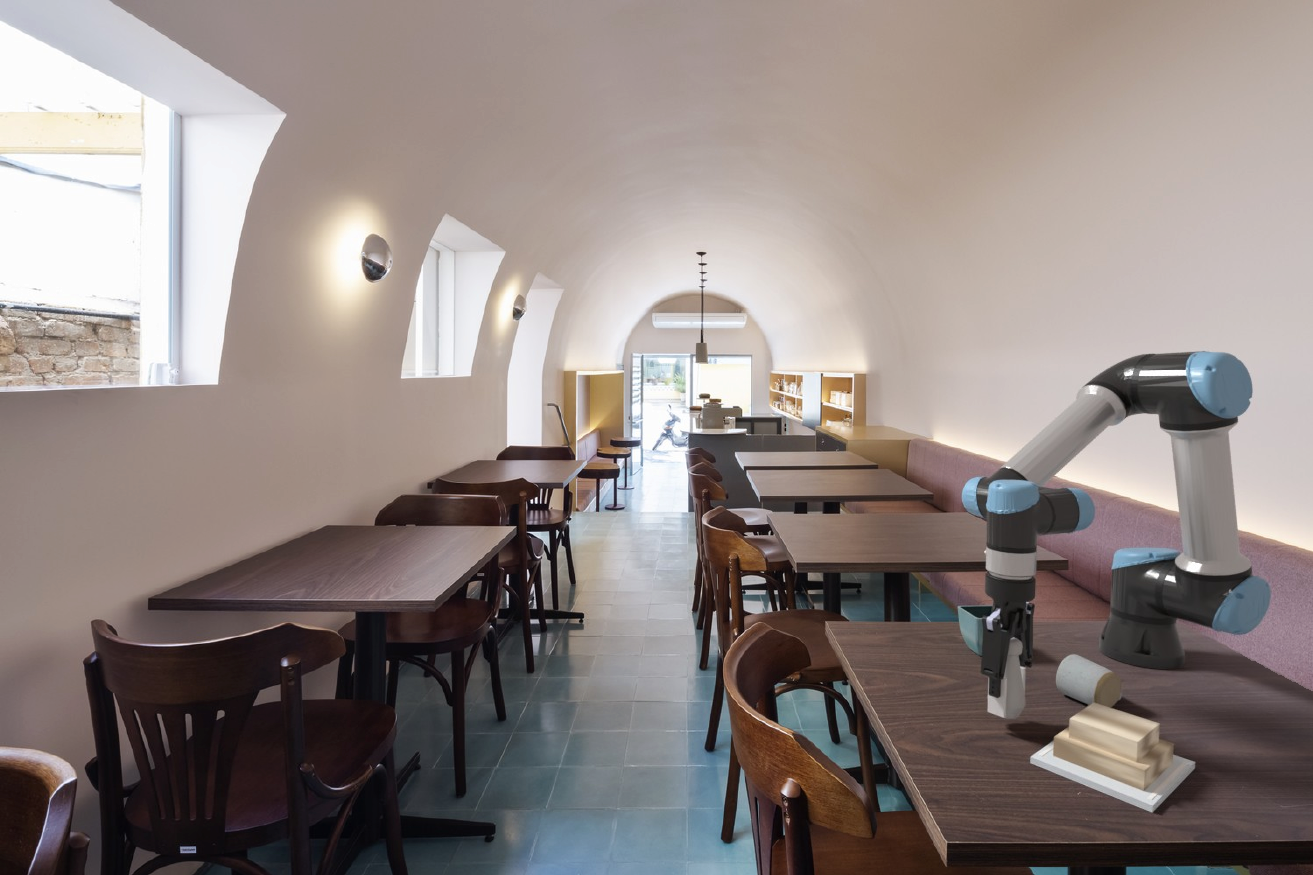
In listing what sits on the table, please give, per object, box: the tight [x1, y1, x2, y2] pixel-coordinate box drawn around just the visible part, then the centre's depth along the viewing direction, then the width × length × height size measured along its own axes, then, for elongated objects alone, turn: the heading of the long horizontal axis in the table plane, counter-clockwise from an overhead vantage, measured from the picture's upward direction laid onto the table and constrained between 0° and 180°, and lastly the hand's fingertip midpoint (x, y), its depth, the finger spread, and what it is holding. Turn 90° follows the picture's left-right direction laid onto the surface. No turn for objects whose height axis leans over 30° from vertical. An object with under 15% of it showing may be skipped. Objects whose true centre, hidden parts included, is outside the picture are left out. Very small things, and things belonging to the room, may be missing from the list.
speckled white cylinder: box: [1055, 653, 1123, 708], centre depth 130 cm, size 11×8×8 cm
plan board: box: [1029, 740, 1196, 813], centre depth 108 cm, size 18×16×1 cm
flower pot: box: [957, 604, 1007, 657], centre depth 153 cm, size 9×9×9 cm
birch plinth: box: [1053, 703, 1175, 791], centre depth 108 cm, size 12×12×6 cm
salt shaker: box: [1003, 637, 1027, 720], centre depth 120 cm, size 6×6×13 cm
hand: (1006, 707), depth 120 cm, fingers closed on salt shaker, 6 cm apart
